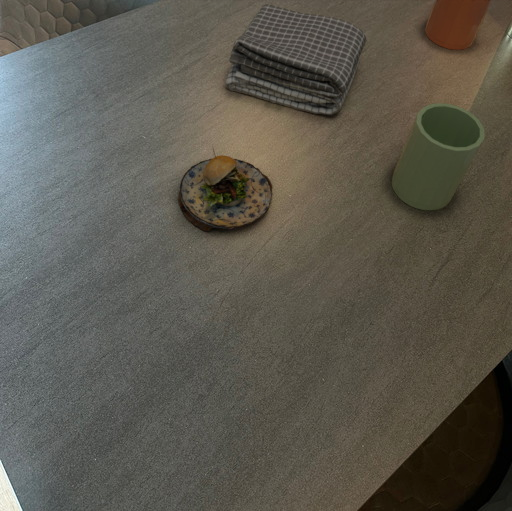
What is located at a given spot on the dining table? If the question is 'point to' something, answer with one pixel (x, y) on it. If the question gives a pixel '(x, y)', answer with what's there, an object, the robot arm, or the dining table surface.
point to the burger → (224, 193)
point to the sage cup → (436, 155)
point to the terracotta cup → (456, 22)
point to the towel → (296, 59)
